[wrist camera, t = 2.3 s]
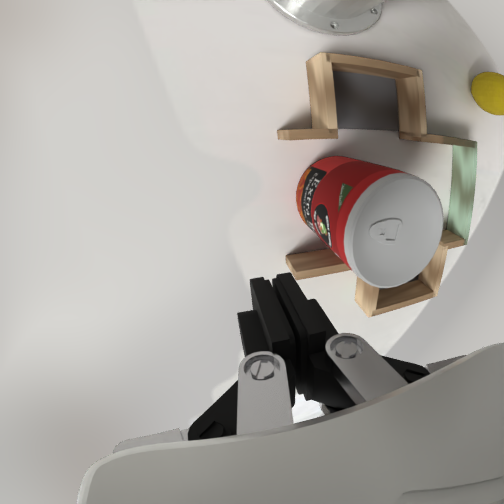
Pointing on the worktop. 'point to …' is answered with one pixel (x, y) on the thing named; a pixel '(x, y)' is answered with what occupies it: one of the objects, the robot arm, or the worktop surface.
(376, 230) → the canned food
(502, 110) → the lemon
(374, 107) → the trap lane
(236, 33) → the worktop surface
